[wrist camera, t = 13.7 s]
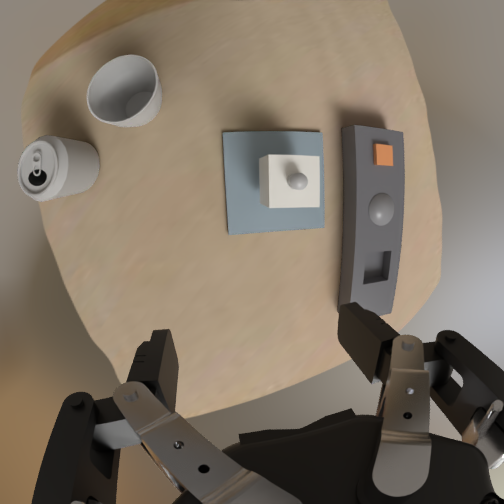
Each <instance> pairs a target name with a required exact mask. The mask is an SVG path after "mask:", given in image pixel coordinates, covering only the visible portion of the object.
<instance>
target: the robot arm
mask: <svg viewBox="0 0 504 504" xmlns="http://www.w3.org/2000/svg"><path fill="white" fill-rule="evenodd" d="M338 339H339V342H340V344H341V345H342V346H343V348H344V349H345V350H346V352H347V353H348V354H349V356H350V357H351V358H352V359H353V361H354V362H355V363H356V365H357V366H358V367H359V368H360V370H361V371H362V372H363V374H364V375H365V376H366V378H367V379H368V380H369V382H370V383H371V384H374V383H376V382H379V381H381V382H382V383H383V384H382V387H381V391H380V397H379V402H378V407H377V411H376V415H375V416H374V415H355V413H354V412H353V410H352V409H348V410H345V411H341V412H338V413H335V414H332V415H328V416H325V417H324V418H321V419H320V420H317V421H316V422H313V423H312V424H309V425H308V426H305V427H303V428H301V429H285V430H284V429H282V430H263V431H257V432H251V433H244V434H239V439H240V442H238V443H235V444H233V445H231V446H229V447H227V448H225V449H223V450H222V451H221V450H219V449H218V448H217V447H216V446H214V445H213V444H212V443H211V442H210V441H208V440H207V439H206V438H205V437H204V436H202V435H201V434H200V433H199V432H198V431H197V430H196V429H195V428H193V427H192V426H191V425H190V424H189V423H188V422H187V421H186V420H185V419H184V418H183V417H182V416H181V415H179V414H178V413H177V412H175V404H176V392H177V380H178V370H179V365H178V358H177V354H176V350H175V346H174V343H173V339H172V335H171V331H170V330H169V329H163V330H153V333H152V336H151V339H150V341H144V342H143V343H142V344H141V345H140V346H139V347H138V348H137V351H136V354H135V357H134V360H133V363H132V366H131V369H130V372H129V375H128V378H127V381H126V383H123V384H121V385H120V386H118V387H117V388H116V389H115V391H114V392H113V396H112V397H109V398H106V399H100V400H95V401H94V400H93V398H92V396H91V395H90V394H88V393H86V392H76V393H73V394H71V395H69V396H68V397H67V398H66V399H65V400H64V402H63V404H62V407H61V409H60V412H59V414H58V417H57V419H56V422H55V425H54V428H53V431H52V433H51V436H50V439H49V442H48V445H47V448H46V451H45V454H44V457H43V461H42V464H41V467H40V471H39V475H38V478H37V482H36V487H35V490H34V495H33V499H32V504H116V492H117V479H118V468H119V459H120V450H121V448H123V447H128V446H133V445H137V444H140V445H141V447H142V448H143V449H144V451H145V452H146V453H147V454H148V456H149V457H150V458H151V459H152V460H153V462H154V463H155V464H156V465H157V466H158V468H159V469H160V470H161V471H162V472H163V473H164V474H165V476H166V477H167V478H168V479H169V480H170V482H171V483H172V484H173V485H174V486H175V487H176V488H177V489H178V490H179V491H180V492H181V493H182V494H181V495H180V496H179V497H178V498H177V499H176V500H175V501H174V502H173V503H172V504H504V499H502V498H500V497H499V496H498V495H496V493H495V492H494V489H493V486H492V483H491V480H490V475H489V469H494V468H497V467H499V466H500V465H501V464H502V463H503V462H504V371H503V370H502V369H501V368H500V367H498V366H497V365H496V364H495V363H494V362H493V361H492V360H490V359H489V358H488V357H487V356H486V355H484V354H483V353H482V352H481V351H480V350H479V349H477V348H476V347H475V346H474V345H473V344H471V343H470V342H469V341H468V340H466V339H465V338H464V337H463V336H461V335H460V334H459V333H457V332H455V331H451V330H444V331H441V332H439V333H438V334H437V337H436V341H435V342H429V343H422V341H421V340H420V339H419V338H417V337H415V336H412V335H400V334H399V333H397V332H396V331H395V330H394V329H393V328H392V327H391V326H390V325H388V324H387V323H386V322H385V321H384V320H383V319H381V318H380V317H379V316H378V315H377V314H376V313H374V312H372V311H370V310H367V309H364V308H363V307H361V306H360V305H359V304H358V303H357V302H351V303H346V304H342V305H341V306H340V308H339V320H338ZM453 369H455V370H456V371H457V372H458V373H459V374H460V375H461V376H462V378H463V387H462V388H461V387H460V386H459V385H458V384H457V383H456V381H455V380H454V379H453V378H452V377H451V374H452V371H453ZM430 397H431V398H432V400H433V401H434V402H435V403H436V404H437V406H438V407H439V408H440V409H441V411H442V412H443V413H444V414H445V415H446V417H447V418H448V419H449V421H450V422H451V423H452V424H453V426H454V427H455V428H456V430H457V431H458V432H459V433H460V435H461V436H462V441H458V440H454V439H450V438H446V437H442V436H439V435H435V434H432V433H429V419H430Z"/></svg>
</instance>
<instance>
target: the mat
mask: <svg viewBox="0 0 504 504" xmlns="http://www.w3.org/2000/svg"><path fill="white" fill-rule="evenodd" d="M223 151H224V169H225V187H226V203H227V219H228V234H229V235H236V234H248V233H260V232H273V231H286V230H299V229H313V228H324V159H323V137H322V133H318V132H294V131H250V132H225V133H223ZM266 155H305V156H319V159H320V207H299V208H268V207H266V206H264V205H262V204H260V184H259V158H262V157H264V156H266Z"/></svg>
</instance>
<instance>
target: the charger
mask: <svg viewBox="0 0 504 504" xmlns="http://www.w3.org/2000/svg"><path fill="white" fill-rule="evenodd" d="M259 184H260V204H262V205H264V206H266V207H268V208H299V207H320V159H319V156H305V155H266V156H264V157H262V158H259Z"/></svg>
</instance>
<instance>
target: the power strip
mask: <svg viewBox="0 0 504 504" xmlns="http://www.w3.org/2000/svg"><path fill="white" fill-rule="evenodd" d="M341 129H342V148H343V188H344V203H343V244H342V263H341V278H340V291H339V302H338V313H339V308H340V306H341V305H342V304H346V303H351V302H357V303H358V304H359V305H360V306H361V307H363V308H364V309H367V310H370V311H372V312H374V313H376V314H377V315H378V316H381V315H385V314H389V313H391V312H392V307H393V301H394V296H395V289H396V283H397V276H398V269H399V261H400V252H401V242H402V230H403V215H404V185H405V169H404V139H403V132H399V131H393V130H387V129H381V128H374V127H367V126H360V125H352V126H348V127H345V128H341Z"/></svg>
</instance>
